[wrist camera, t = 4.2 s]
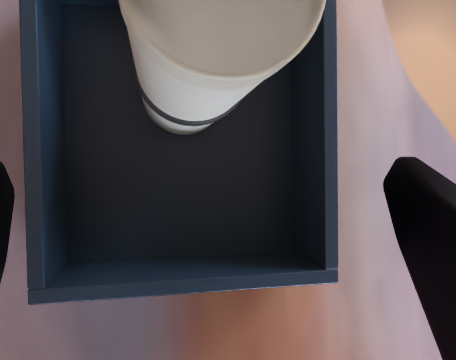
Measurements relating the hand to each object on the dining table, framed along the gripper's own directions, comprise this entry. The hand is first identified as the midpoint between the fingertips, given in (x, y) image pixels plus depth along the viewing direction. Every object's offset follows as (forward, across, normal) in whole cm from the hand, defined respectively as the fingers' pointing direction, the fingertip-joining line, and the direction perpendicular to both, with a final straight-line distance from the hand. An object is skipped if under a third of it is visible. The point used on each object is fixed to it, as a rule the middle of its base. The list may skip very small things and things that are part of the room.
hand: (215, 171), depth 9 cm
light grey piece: (+10, 0, +5) cm, 11 cm away
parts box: (+9, 0, +6) cm, 11 cm away
